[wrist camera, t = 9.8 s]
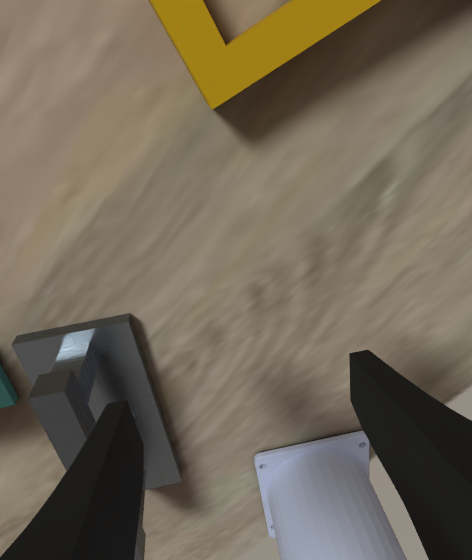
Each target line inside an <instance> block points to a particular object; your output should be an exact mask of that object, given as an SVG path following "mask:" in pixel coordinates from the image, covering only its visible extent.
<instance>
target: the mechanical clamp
mask: <svg viewBox="0 0 472 560" xmlns="http://www.w3.org/2000/svg"><path fill="white" fill-rule="evenodd" d="M379 1H381V0H291V1H289V2H288V3H287V4H285V5H284V6H282V7H281V8H279V9H278V10H276V11H275V12H273V13H272V14H270V15H269V16H267V17H266V18H264V19H263V20H261V21H260V22H258V23H257V24H255V25H254V26H252V27H251V28H249V29H248V30H246V31H245V32H243V33H242V34H240V35H239V36H237V37H236V38H234V39H233V40H231V41H230V42H228V43H227V44H225V43H224V41H223V39H222V37H221V35H220V33H219V31H218V29H217V27H216V25H215V23H214V21H213V19H212V17H211V15H210V13H209V11H208V9H207V7H206V6H205V4H204V2H203V0H149V2H150V4H151V6H152V8H153V9H154V11H155V13H156V15H157V16H158V18H159V20H160V22H161V23H162V25H163V27H164V29H165V30H166V32H167V34H168V36H169V37H170V39H171V41H172V43H173V45H174V46H175V48H176V50H177V52H178V53H179V55H180V57H181V59H182V60H183V62H184V64H185V66H186V67H187V69H188V71H189V73H190V74H191V76H192V78H193V80H194V82H195V83H196V85H197V87H198V89H199V90H200V92H201V94H202V96H203V97H204V99H205V101H206V103H207V104H208V105H209V107H210V108H211V109H212V110H213V109H214V108H216V107H217V106H219V105H220V104H222V103H224V102H225V101H227V100H228V99H230V98H231V97H233V96H234V95H236V94H237V93H239V92H241V91H242V90H244V89H245V88H247V87H248V86H250V85H251V84H253V83H254V82H256V81H258V80H259V79H261V78H262V77H264V76H265V75H267V74H268V73H270V72H271V71H273V70H274V69H276V68H278V67H279V66H281V65H282V64H284V63H285V62H287V61H288V60H290V59H291V58H293V57H295V56H296V55H298V54H299V53H301V52H302V51H304V50H305V49H307V48H308V47H310V46H312V45H313V44H315V43H316V42H318V41H319V40H321V39H322V38H324V37H325V36H327V35H329V34H330V33H332V32H333V31H335V30H336V29H338V28H339V27H341V26H342V25H344V24H345V23H347V22H349V21H350V20H352V19H353V18H355V17H356V16H358V15H359V14H361V13H362V12H364V11H366V10H367V9H369V8H370V7H372V6H373V5H375V4H376V3H378V2H379Z"/></svg>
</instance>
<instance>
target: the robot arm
mask: <svg viewBox="0 0 472 560" xmlns="http://www.w3.org/2000/svg"><path fill="white" fill-rule="evenodd" d="M349 355H350V396H351V403H352V405H353V407H354V410H355V412H356V415H357V417H358V420H359V422H360V424H361V427H362V429H363V431H358V432H353V433H348V434H344V435H339V436H335V437H330V438H325V439H321V440H316V441H311V442H307V443H302V444H298V445H293V446H288V447H284V448H279V449H274V450H270V451H265V452H260V453H258V454H256V455H255V457H254V461H255V466H256V471H257V476H258V481H259V487H260V492H261V497H262V502H263V507H264V512H265V517H266V523H267V528H268V533H269V536H270V537H272V538H276V540H277V544H278V549H279V554H280V559H281V560H407V559H406V557H405V555H404V553H403V551H402V548H401V546H400V544H399V542H398V540H397V538H396V536H395V533H394V531H393V529H392V528H391V525H390V523H389V521H388V519H387V516H386V514H385V512H384V510H383V508H382V506H381V504H380V501H379V499H378V497H377V495H376V493H375V491H374V489H373V487H372V484H371V482H370V480H369V442H370V444H371V445H372V447H373V449H374V451H375V452H376V454H377V456H378V458H379V459H380V461H381V463H382V465H383V467H384V468H385V470H386V472H387V474H388V475H389V477H390V478H391V481H392V482H393V484H394V486H395V488H396V490H397V491H398V493H399V495H400V497H401V499H402V501H403V502H404V505H405V507H406V509H407V511H408V513H409V516H410V518H411V520H412V522H413V524H414V526H415V529H416V531H417V533H418V536H419V538H420V540H421V542H422V545H423V547H424V549H425V551H426V554H427V556H428V558H429V560H472V421H471V420H469V419H467V418H465V417H464V416H462V415H460V414H458V413H457V412H455V411H453V410H452V409H450V408H448V407H447V406H445V405H444V404H442V403H441V402H439V401H437V400H436V399H434V398H433V397H431V396H430V395H428V394H427V393H426V392H424V391H423V390H421V389H420V388H418V387H417V386H416V385H414V384H413V383H411V382H410V381H409V380H407V379H406V378H404V377H403V376H402V375H400V374H399V373H398V372H396V371H395V370H394V369H393V368H391V367H390V366H389V365H387V364H386V363H385V362H383V361H382V360H381V359H380V358H378V357H377V356H376V355H374V354H373V353H372V352H370V351H369V350H364V351H359V352H354V353H349ZM143 478H144V444H143V441H142V439H141V436H140V433H139V431H138V428H137V426H136V423H135V420H134V418H133V415H132V412H131V410H130V407H129V404H128V402H127V400H123V401H118V402H113V403H108V404H107V405H106V406H105V408H104V410H103V412H102V413H101V415H100V417H99V419H98V420H97V422H96V424H95V426H94V428H93V429H92V431H91V433H90V434H89V436H88V438H87V440H86V441H85V443H84V445H83V446H82V448H81V450H80V451H79V453H78V455H77V456H76V458H75V459H74V461H73V463H72V464H71V466H70V467H69V469H68V470H67V472H66V473H65V475H64V476H63V478H62V479H61V481H60V482H59V484H58V485H57V487H56V488H55V490H54V491H53V493H52V494H51V495H50V497H49V498H48V500H47V501H46V502H45V504H44V505H43V506H42V508H41V509H40V510H39V512H38V513H37V514H36V516H35V517H34V518H33V519H32V521H31V522H30V523H29V525H28V526H27V527H26V528H25V529H24V531H23V532H22V533H21V534H20V535H19V537H18V538H17V539H16V540H15V541H14V542H13V543H12V545H11V546H10V547H9V548H8V549H7V550H6V551H5V552H4V554H3V555H2V556H1V557H0V560H134V557H135V547H136V538H137V530H138V521H139V513H140V505H141V496H142V487H143Z"/></svg>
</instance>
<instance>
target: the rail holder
mask: <svg viewBox="0 0 472 560" xmlns="http://www.w3.org/2000/svg"><path fill="white" fill-rule="evenodd" d="M12 347H13V349H14V351H15V353H16V355H17V357H18V359H19V361H20V363H21V364H22V366H23V368H24V370H25V372H26V374H27V376H28V378H29V380H30V382H31V384H32V386H33V389H32V391H31V393H30V396H29V398H28V399H29V401H30V403H31V405H32V407H33V409H34V411H35V413H36V415H37V416H38V418H39V420H40V422H41V424H42V426H43V428H44V430H45V431H46V433H47V435H48V437H49V439H50V441H51V443H52V445H53V447H54V448H55V450H56V452H57V454H58V456H59V458H60V460H61V462H62V463H63V465H64V467H65V469H66V471H67V470H68V469H69V467H70V466H71V464H72V463H73V461H74V459H75V458H76V456H77V455H78V453H79V451H80V450H81V448H82V446H83V445H84V443H85V441H86V440H87V438H88V436H89V434H90V433H91V431H92V429H93V428H94V426H95V424H96V422H97V420H98V419H99V417H100V415H101V413H102V412H103V410H104V408H105V406H106V405H107V404H108V403H113V402H118V401H123V400H127V402H128V404H129V407H130V410H131V412H132V415H133V418H134V420H135V423H136V426H137V428H138V431H139V433H140V436H141V439H142V441H143V444H144V478H143V487H142V496H141V505H140V513H139V521H138V530H137V538H136V547H135V557H134V560H144V552H145V536H146V535H145V532H144V530H143V528H142V525H143V511H144V497H145V490H147V489H152V488H157V487H161V486H166V485H170V484H175V483H180V482H182V471H181V468H180V465H179V462H178V459H177V456H176V452H175V449H174V446H173V443H172V440H171V437H170V434H169V431H168V428H167V425H166V422H165V419H164V416H163V413H162V410H161V407H160V404H159V401H158V398H157V394H156V391H155V388H154V385H153V382H152V379H151V376H150V373H149V370H148V367H147V364H146V361H145V358H144V355H143V352H142V349H141V346H140V343H139V339H138V336H137V333H136V330H135V327H134V324H133V321H132V318H131V315H130V314H124V315H119V316H114V317H109V318H104V319H99V320H94V321H89V322H84V323H79V324H74V325H69V326H64V327H59V328H54V329H49V330H44V331H39V332H34V333H29V334H24V335H19V336H16V338H15V340H14V341H13V343H12Z"/></svg>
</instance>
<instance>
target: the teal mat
mask: <svg viewBox="0 0 472 560" xmlns="http://www.w3.org/2000/svg"><path fill="white" fill-rule="evenodd" d="M18 398H19V397H18V396H17V394H16V392H15V390H14V388H13V386H12V385H11V383H10V381H9V379H8V377H7V375H6V374H5V372H4V370H3V368H2V366H1V364H0V408H3V407H8V406H13V405H15V404H16V402H17V400H18Z"/></svg>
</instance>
